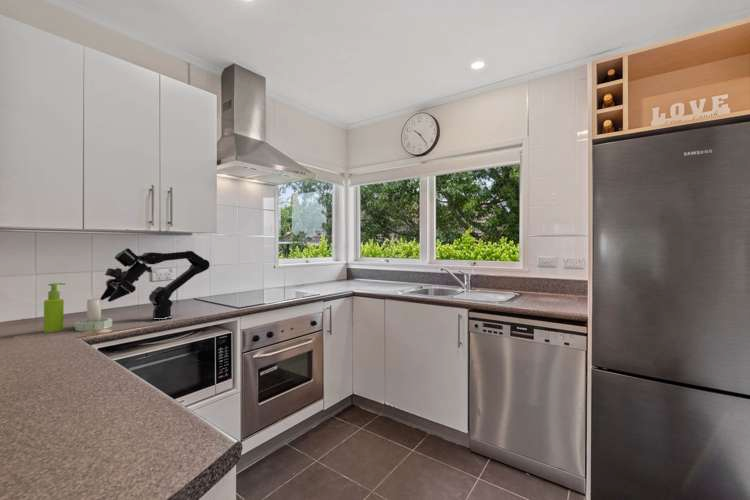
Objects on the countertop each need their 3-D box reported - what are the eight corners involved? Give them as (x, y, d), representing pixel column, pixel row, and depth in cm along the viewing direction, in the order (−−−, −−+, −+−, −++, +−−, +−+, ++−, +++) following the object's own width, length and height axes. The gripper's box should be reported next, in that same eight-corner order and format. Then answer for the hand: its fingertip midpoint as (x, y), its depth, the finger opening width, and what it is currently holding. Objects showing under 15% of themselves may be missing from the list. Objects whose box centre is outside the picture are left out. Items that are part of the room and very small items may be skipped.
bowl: (106, 324, 155) (106, 317, 155) (115, 328, 148) (115, 320, 148) (71, 329, 145) (71, 321, 145) (80, 333, 138) (80, 324, 138)
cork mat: (107, 329, 145) (107, 327, 145) (116, 332, 140) (116, 331, 140) (77, 333, 137) (77, 332, 137) (85, 337, 131) (85, 335, 131)
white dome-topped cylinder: (101, 324, 150) (101, 298, 150) (100, 326, 146) (100, 299, 146) (87, 326, 147) (88, 299, 147) (86, 328, 143) (86, 300, 143)
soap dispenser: (69, 329, 145) (69, 282, 145) (52, 333, 138) (53, 284, 138) (57, 329, 145) (57, 282, 145) (39, 333, 138) (40, 283, 139)
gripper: (111, 261, 159) (81, 287, 150) (126, 261, 148) (95, 290, 139) (131, 277, 166) (103, 303, 157) (147, 278, 155) (118, 306, 146)
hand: (104, 300), depth 150 cm, fingers open, 9 cm apart
